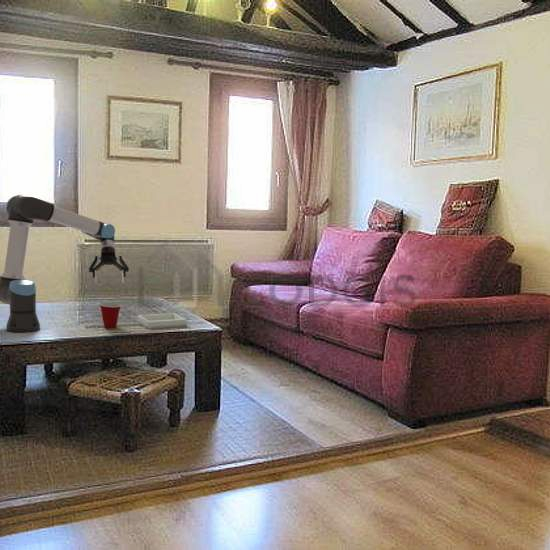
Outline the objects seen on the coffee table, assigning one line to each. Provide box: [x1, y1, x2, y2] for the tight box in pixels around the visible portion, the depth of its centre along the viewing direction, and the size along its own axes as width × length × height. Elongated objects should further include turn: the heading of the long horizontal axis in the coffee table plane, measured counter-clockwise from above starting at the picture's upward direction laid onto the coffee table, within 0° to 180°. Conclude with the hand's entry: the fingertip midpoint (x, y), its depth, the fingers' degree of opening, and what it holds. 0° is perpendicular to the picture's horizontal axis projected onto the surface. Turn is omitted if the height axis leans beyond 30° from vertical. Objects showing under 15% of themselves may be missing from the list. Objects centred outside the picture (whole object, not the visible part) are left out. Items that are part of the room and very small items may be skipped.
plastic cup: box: [99, 301, 123, 329], centre depth 321 cm, size 11×11×12 cm
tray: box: [137, 312, 188, 330], centre depth 332 cm, size 20×20×4 cm
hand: (109, 281), depth 334 cm, fingers open, 13 cm apart
